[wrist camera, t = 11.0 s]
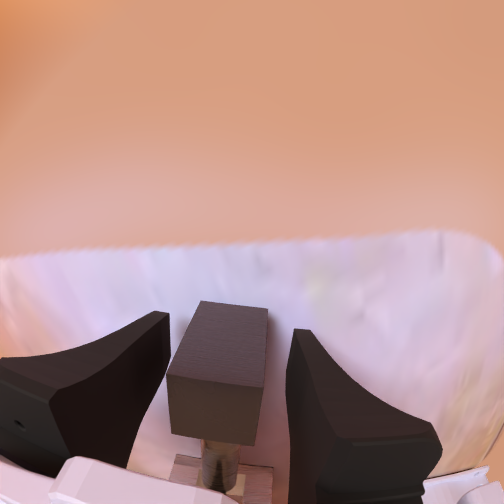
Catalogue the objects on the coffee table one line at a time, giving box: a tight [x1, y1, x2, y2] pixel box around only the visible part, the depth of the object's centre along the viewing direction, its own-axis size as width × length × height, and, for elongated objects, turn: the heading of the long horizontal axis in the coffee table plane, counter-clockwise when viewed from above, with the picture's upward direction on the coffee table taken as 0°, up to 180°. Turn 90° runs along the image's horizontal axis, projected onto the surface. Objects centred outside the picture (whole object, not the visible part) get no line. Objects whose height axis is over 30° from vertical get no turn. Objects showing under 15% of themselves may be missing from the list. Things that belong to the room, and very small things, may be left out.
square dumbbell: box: [166, 301, 268, 495], centre depth 12 cm, size 3×11×5 cm, turn 175°
